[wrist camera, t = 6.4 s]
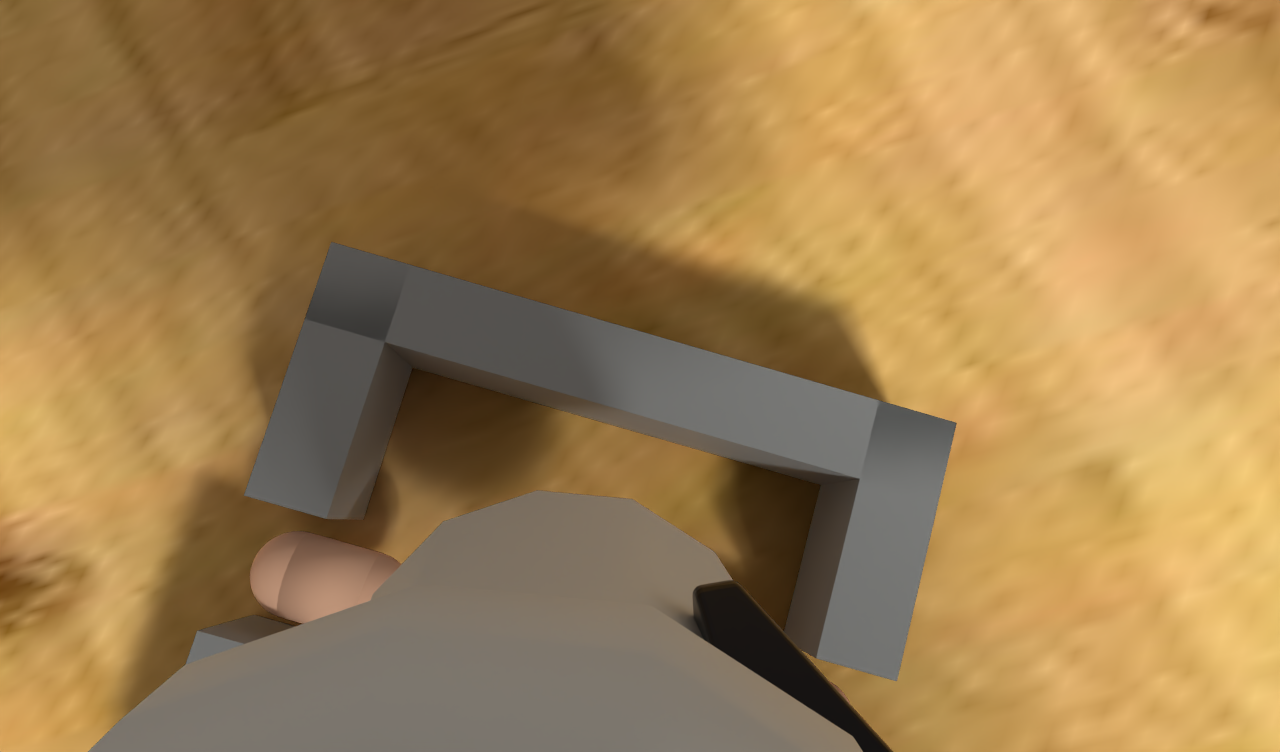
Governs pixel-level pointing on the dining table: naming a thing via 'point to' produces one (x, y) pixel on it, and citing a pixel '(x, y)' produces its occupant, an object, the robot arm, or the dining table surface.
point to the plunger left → (315, 575)
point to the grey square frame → (621, 396)
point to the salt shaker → (496, 654)
